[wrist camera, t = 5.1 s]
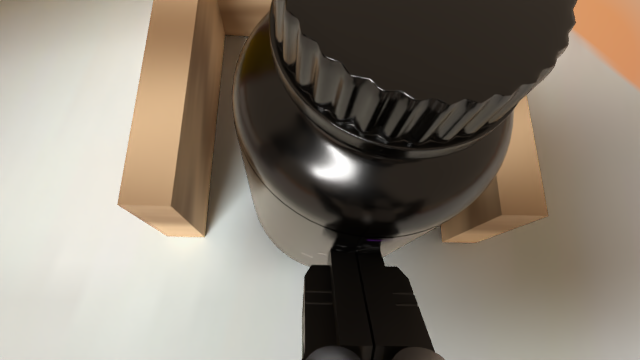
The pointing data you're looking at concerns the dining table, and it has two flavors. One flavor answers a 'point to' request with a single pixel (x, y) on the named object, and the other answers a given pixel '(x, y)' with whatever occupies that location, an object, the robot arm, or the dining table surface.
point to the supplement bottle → (383, 113)
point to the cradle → (200, 125)
